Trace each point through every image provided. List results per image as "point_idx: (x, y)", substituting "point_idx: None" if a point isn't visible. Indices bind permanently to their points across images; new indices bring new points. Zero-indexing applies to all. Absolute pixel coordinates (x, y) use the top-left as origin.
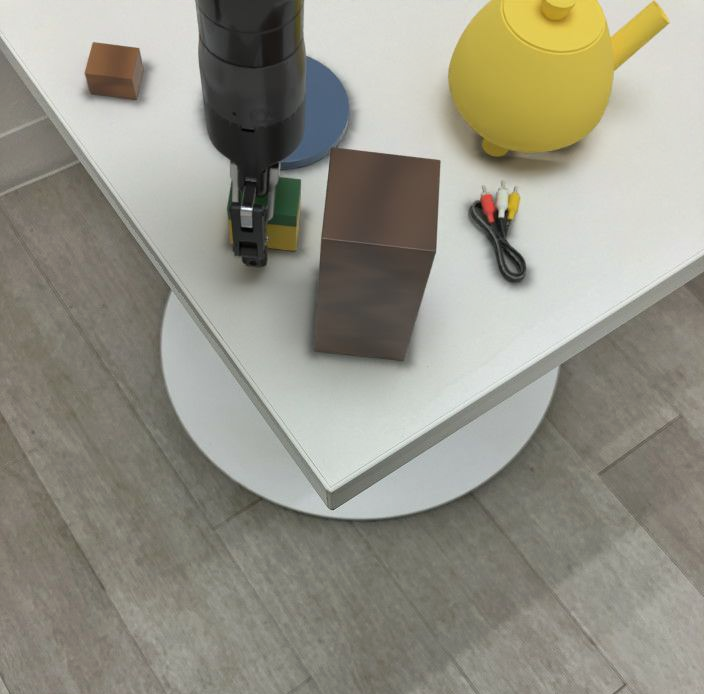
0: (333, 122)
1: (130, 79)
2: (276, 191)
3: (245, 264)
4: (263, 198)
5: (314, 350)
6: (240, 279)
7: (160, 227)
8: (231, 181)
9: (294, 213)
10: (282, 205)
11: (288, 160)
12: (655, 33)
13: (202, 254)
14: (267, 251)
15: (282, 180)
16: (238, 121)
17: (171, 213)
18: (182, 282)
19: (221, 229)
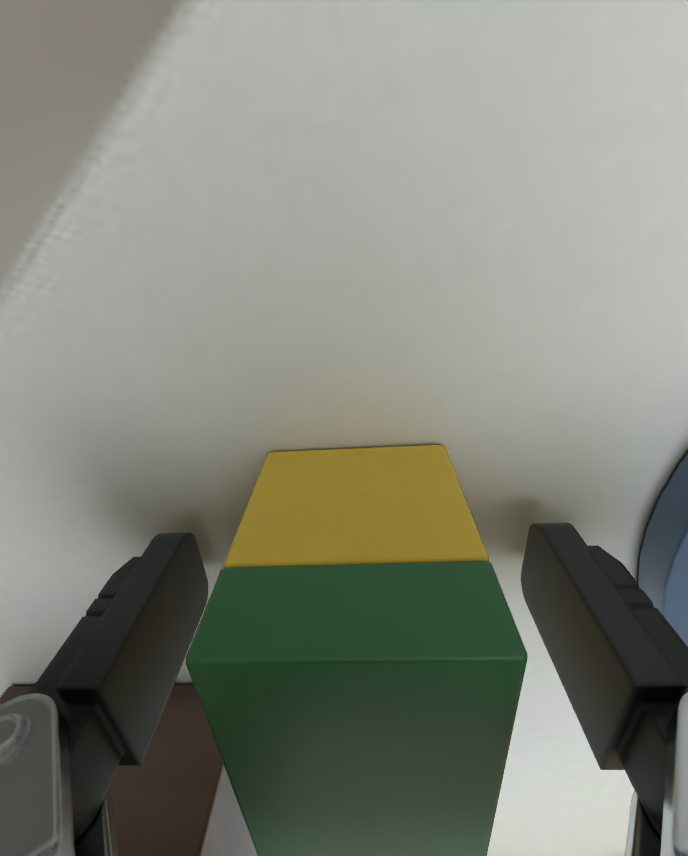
0: None
1: None
2: (390, 820)
3: (113, 575)
4: (327, 790)
5: (6, 690)
6: (134, 502)
7: (269, 81)
8: (431, 658)
9: None
10: (305, 841)
11: (669, 610)
12: None
13: (184, 351)
14: (187, 646)
15: (467, 836)
16: None
17: (377, 130)
18: (9, 293)
19: (330, 404)
